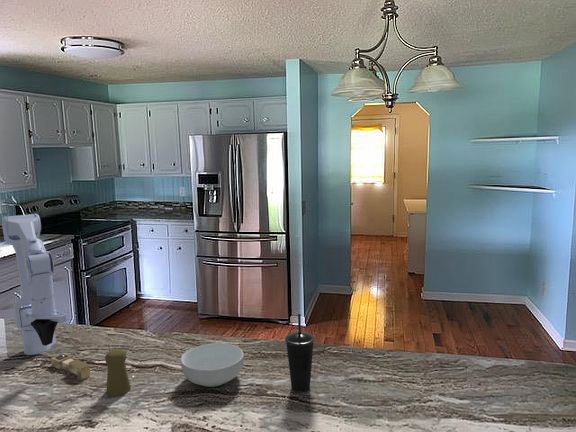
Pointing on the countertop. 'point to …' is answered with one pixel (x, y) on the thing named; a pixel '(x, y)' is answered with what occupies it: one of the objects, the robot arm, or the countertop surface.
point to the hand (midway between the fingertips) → (47, 344)
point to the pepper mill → (117, 373)
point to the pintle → (61, 356)
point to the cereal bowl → (212, 364)
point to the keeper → (81, 369)
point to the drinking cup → (300, 358)
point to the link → (64, 363)
